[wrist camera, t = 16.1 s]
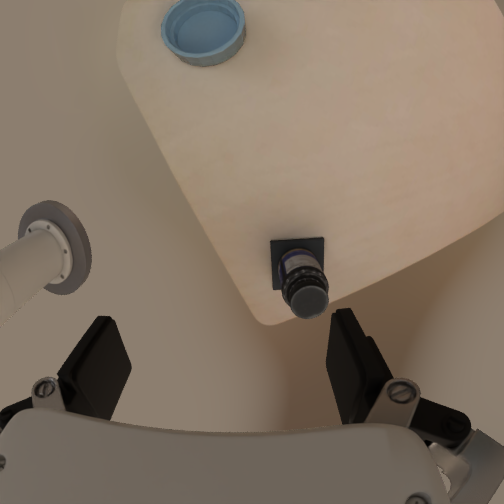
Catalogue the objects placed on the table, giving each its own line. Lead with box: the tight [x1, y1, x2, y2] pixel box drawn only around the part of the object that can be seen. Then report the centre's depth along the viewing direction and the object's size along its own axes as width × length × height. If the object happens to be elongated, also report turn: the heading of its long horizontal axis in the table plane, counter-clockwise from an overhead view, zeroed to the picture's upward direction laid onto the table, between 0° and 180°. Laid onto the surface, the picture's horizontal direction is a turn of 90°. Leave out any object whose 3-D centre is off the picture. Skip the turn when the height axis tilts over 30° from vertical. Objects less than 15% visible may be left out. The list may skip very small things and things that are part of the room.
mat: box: [270, 238, 324, 290], centre depth 43 cm, size 8×8×1 cm
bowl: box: [161, 0, 246, 67], centre depth 29 cm, size 11×11×5 cm
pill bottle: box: [278, 248, 329, 319], centre depth 38 cm, size 6×6×11 cm
